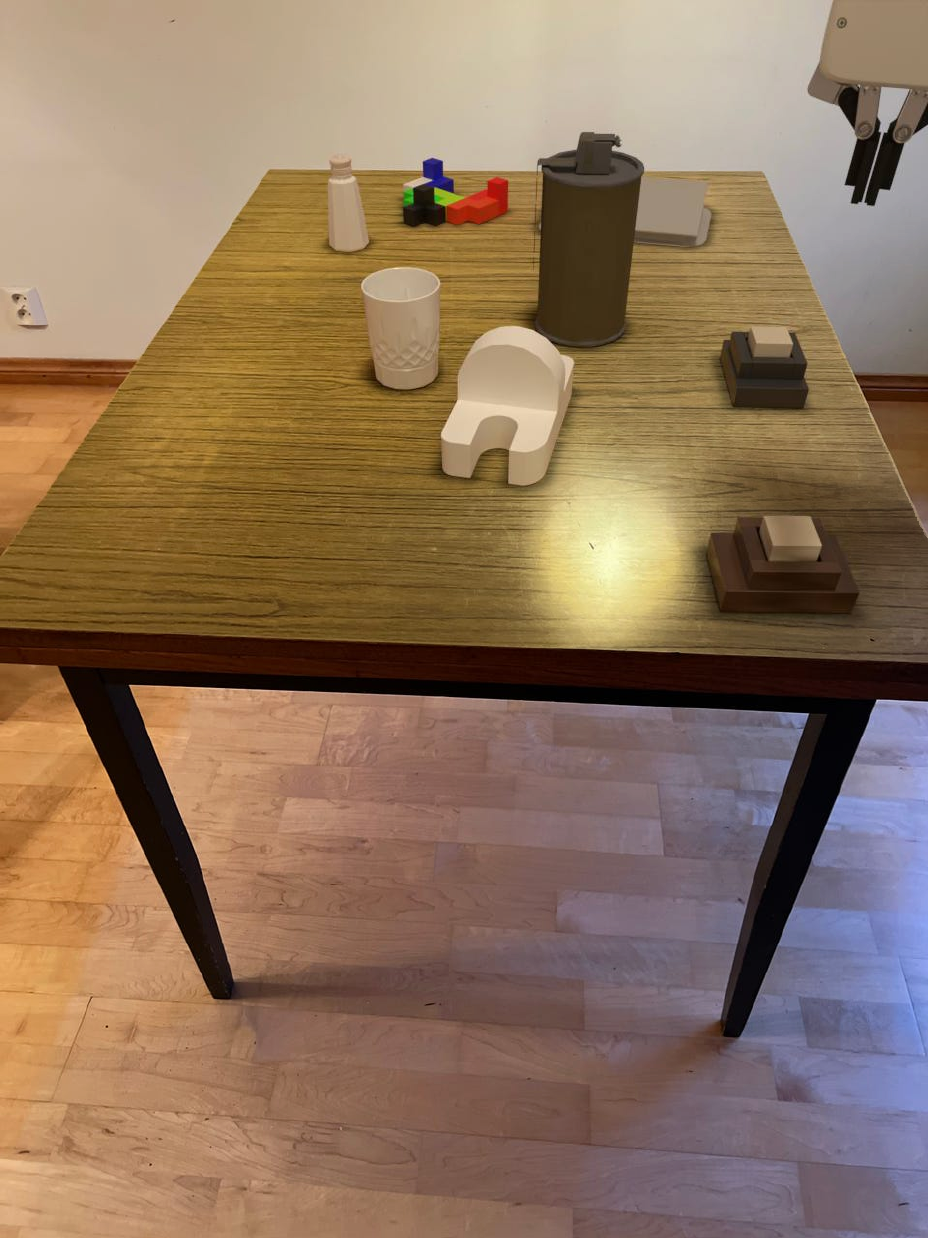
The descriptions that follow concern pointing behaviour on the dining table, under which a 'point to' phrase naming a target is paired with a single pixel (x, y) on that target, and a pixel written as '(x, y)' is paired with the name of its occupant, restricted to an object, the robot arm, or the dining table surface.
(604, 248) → the canister
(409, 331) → the white cup
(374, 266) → the dining table surface
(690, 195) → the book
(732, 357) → the far block
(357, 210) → the salt shaker
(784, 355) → the far key
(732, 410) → the dining table surface
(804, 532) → the near key
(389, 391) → the dining table surface
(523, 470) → the slotted bracket
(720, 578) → the near block
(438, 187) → the building blocks
